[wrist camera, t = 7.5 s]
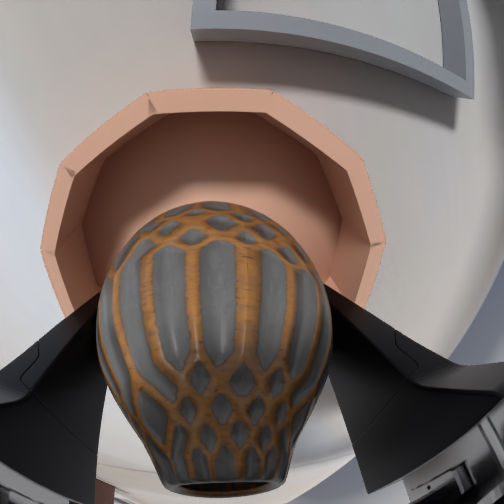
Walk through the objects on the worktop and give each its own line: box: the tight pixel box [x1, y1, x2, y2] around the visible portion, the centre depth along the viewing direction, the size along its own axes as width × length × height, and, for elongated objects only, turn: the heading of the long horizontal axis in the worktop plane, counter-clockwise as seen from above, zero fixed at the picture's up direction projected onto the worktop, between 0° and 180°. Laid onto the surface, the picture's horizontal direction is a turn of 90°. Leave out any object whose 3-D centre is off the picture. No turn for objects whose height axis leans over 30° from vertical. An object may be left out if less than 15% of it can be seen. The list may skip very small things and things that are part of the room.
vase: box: [96, 201, 333, 498], centre depth 7 cm, size 7×7×9 cm
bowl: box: [40, 88, 386, 318], centre depth 11 cm, size 13×13×3 cm
